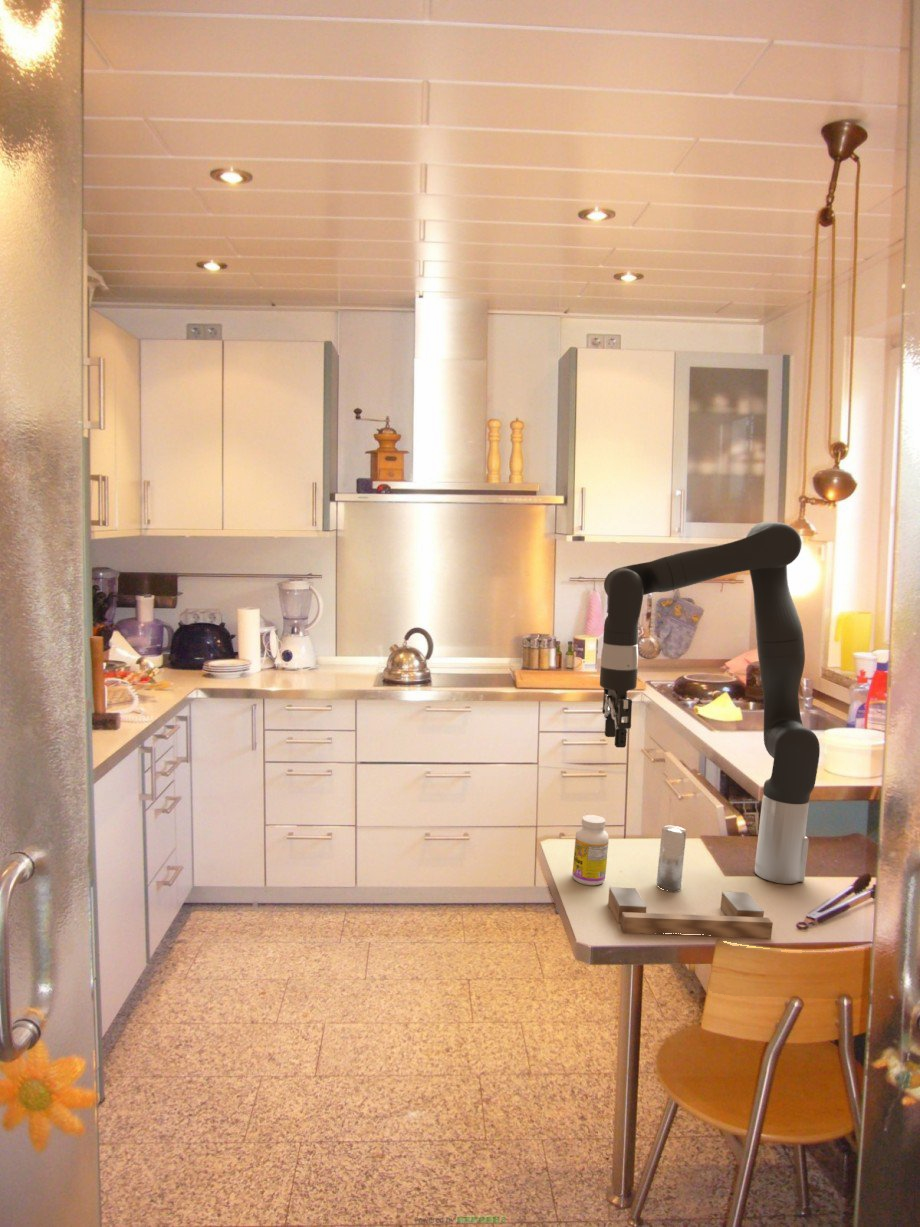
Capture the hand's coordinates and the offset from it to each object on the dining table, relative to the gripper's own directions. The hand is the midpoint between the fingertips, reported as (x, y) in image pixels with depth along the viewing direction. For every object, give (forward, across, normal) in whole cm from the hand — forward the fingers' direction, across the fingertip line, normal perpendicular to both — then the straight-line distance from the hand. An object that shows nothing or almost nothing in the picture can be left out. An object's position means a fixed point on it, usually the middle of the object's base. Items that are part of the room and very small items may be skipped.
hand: (614, 741), depth 187 cm
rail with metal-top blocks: (+27, -25, -9) cm, 38 cm away
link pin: (+27, -10, -10) cm, 31 cm away
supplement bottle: (+27, -8, +6) cm, 29 cm away
